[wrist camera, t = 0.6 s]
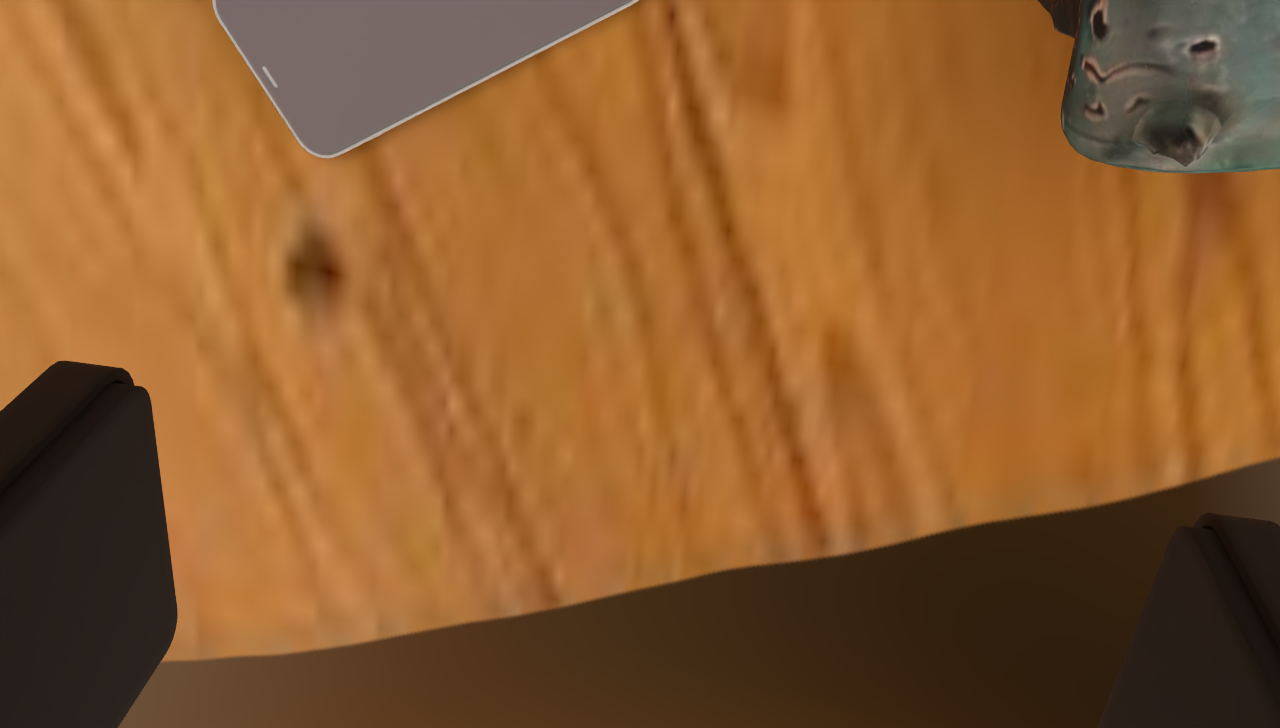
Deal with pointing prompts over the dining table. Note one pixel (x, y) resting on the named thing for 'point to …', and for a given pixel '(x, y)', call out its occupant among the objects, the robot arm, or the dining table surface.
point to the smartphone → (387, 55)
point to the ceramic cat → (1173, 83)
